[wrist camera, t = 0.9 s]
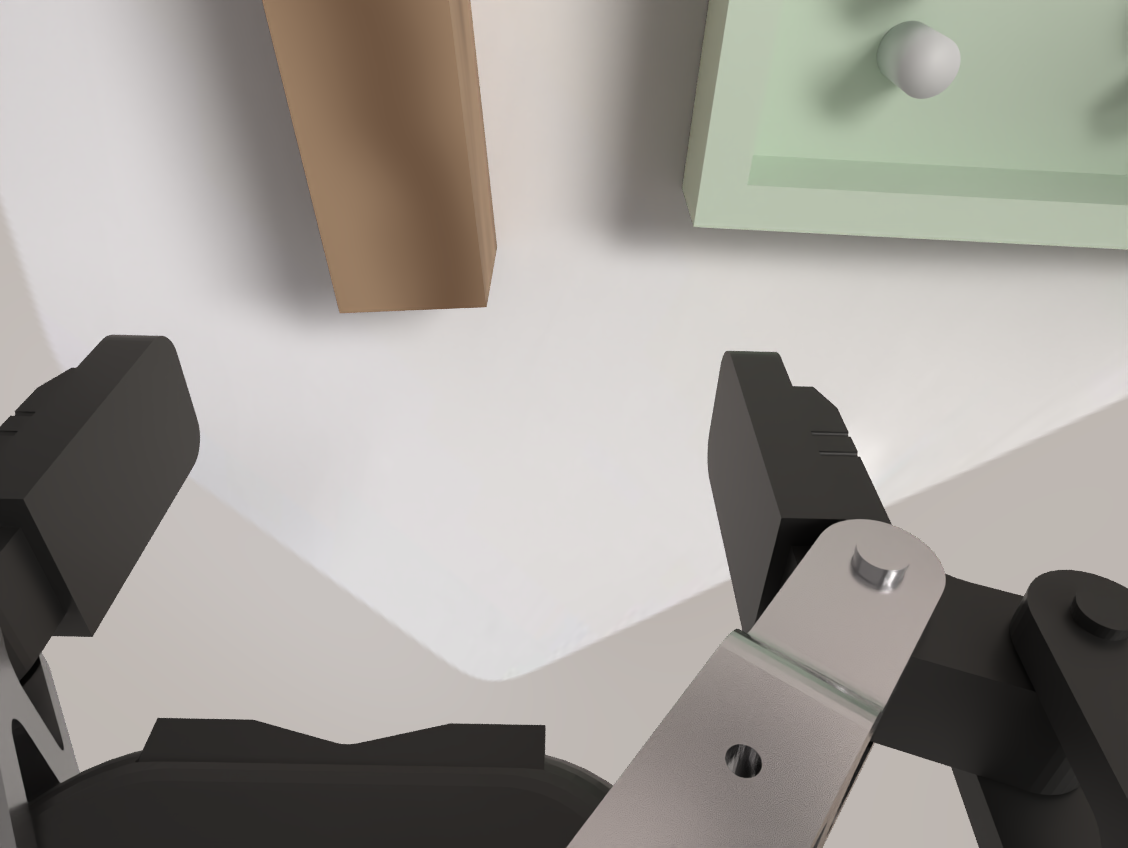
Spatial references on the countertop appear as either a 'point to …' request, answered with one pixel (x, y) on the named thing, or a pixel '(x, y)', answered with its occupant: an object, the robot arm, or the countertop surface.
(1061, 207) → the pale green tray
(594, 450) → the countertop surface
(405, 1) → the walnut plank
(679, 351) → the countertop surface
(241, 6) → the countertop surface
